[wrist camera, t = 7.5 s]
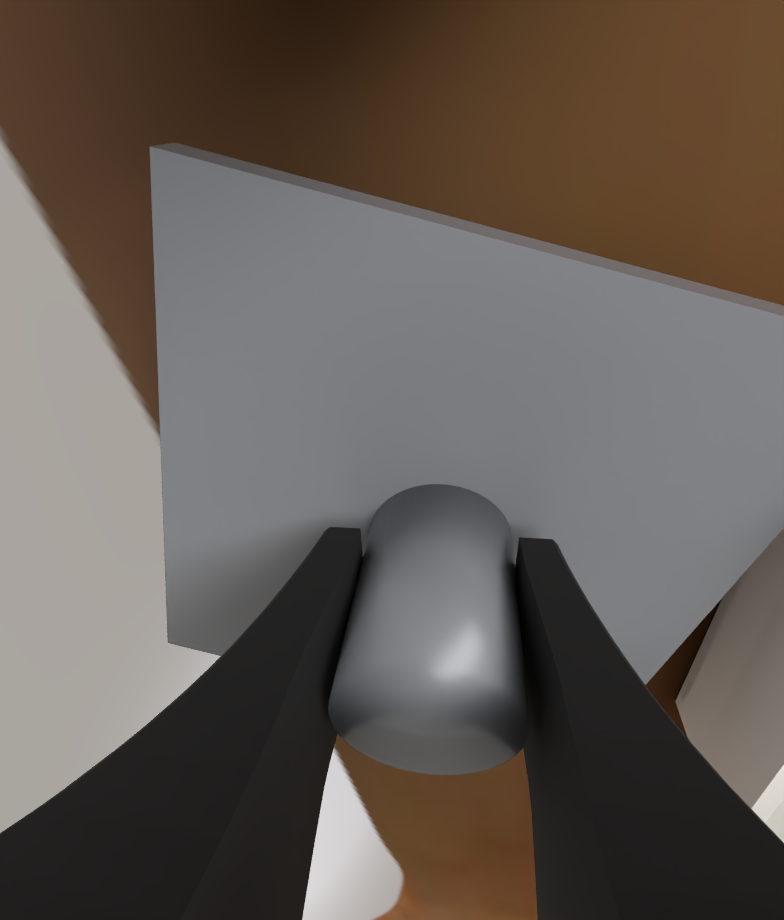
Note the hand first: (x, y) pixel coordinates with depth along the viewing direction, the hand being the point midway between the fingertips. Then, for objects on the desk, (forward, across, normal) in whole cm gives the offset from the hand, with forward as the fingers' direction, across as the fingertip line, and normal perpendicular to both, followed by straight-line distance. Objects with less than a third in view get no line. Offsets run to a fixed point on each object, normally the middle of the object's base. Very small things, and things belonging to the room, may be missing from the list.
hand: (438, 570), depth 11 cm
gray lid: (+2, 0, 0) cm, 2 cm away
